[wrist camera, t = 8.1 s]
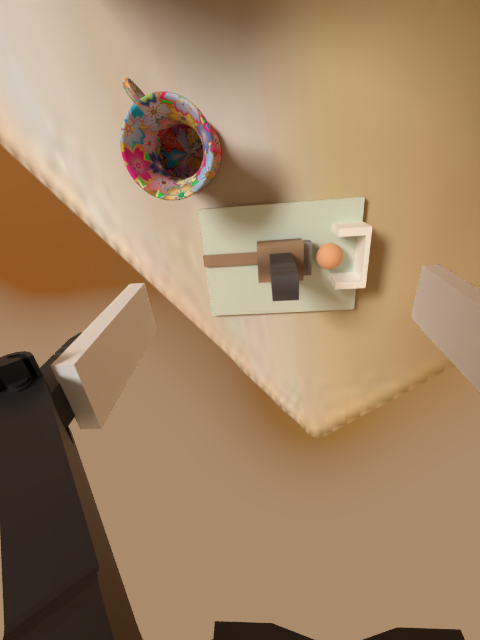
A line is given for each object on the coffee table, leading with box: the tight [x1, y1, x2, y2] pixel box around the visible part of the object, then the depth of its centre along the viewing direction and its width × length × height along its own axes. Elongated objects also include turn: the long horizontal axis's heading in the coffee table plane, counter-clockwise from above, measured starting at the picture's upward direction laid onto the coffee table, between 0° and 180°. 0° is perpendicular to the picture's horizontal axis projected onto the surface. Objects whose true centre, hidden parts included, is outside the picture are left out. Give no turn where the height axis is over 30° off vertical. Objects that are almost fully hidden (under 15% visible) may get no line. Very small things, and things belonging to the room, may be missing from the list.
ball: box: [316, 243, 343, 269], centre depth 41 cm, size 4×4×4 cm
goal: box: [329, 221, 372, 290], centre depth 41 cm, size 8×4×4 cm, turn 5°
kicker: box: [257, 238, 312, 301], centre depth 37 cm, size 5×7×12 cm
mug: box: [120, 78, 221, 200], centre depth 34 cm, size 12×9×11 cm
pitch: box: [198, 197, 365, 316], centre depth 44 cm, size 16×22×2 cm
